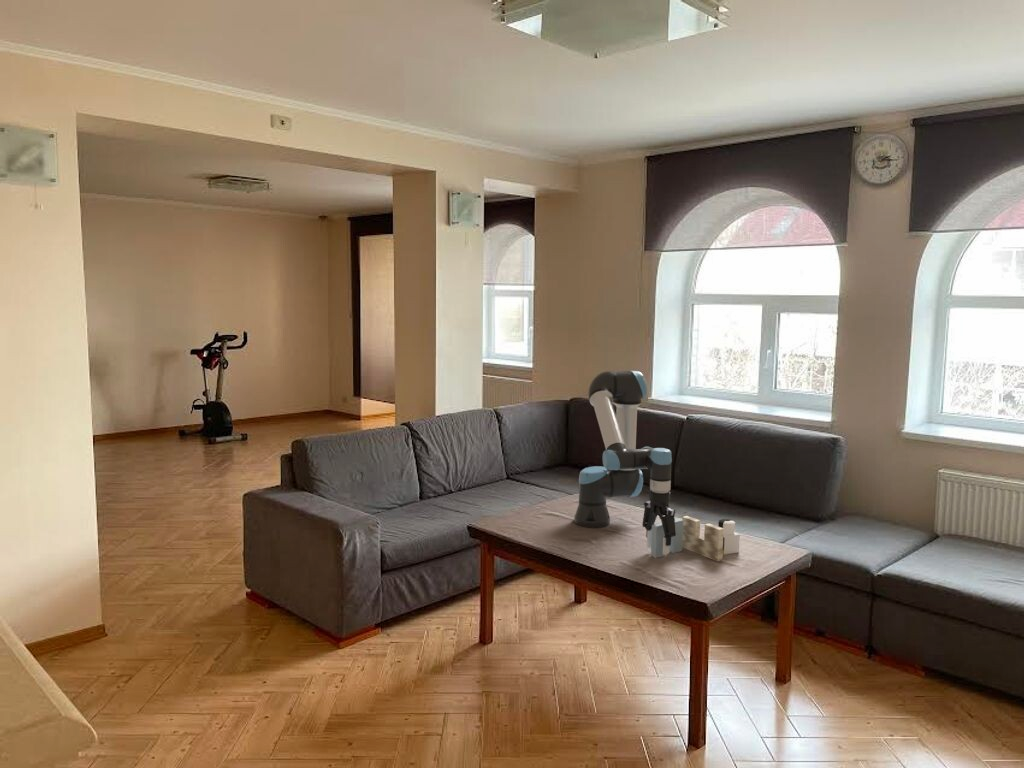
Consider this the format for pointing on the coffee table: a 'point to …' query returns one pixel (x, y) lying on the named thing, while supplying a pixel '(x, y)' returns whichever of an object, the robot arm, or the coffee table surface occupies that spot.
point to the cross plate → (658, 539)
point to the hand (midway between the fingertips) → (658, 550)
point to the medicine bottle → (729, 536)
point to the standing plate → (703, 538)
